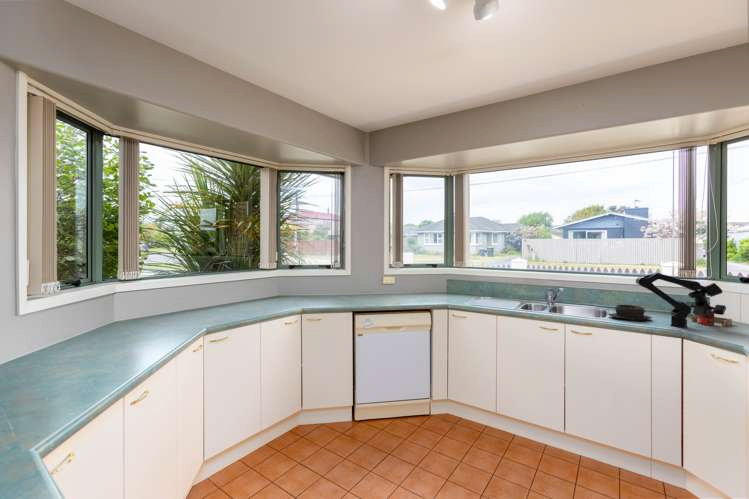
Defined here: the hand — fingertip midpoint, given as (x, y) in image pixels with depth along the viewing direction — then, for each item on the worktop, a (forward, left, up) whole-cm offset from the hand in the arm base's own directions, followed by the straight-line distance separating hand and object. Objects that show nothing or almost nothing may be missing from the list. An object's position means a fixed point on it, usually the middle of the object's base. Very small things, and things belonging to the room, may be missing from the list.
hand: (707, 317), depth 216 cm
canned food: (-2, +4, -6) cm, 7 cm away
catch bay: (-2, +12, -5) cm, 13 cm away
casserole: (-33, -22, -6) cm, 40 cm away
